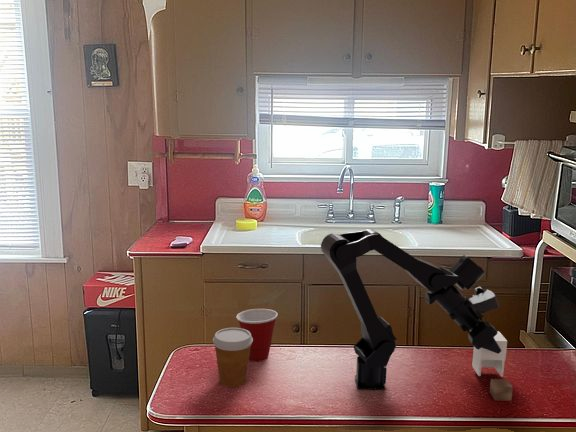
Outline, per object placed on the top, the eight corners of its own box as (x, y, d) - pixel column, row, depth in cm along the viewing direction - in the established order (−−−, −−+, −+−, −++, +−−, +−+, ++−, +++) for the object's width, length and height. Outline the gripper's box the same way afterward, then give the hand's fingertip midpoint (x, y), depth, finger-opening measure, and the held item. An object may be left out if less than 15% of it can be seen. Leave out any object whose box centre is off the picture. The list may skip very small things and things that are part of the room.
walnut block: (494, 400, 143) (496, 386, 143) (489, 392, 147) (491, 379, 146) (511, 401, 143) (512, 387, 143) (505, 393, 147) (507, 379, 146)
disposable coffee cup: (204, 381, 150) (204, 334, 147) (234, 368, 157) (234, 323, 154) (231, 394, 144) (231, 346, 141) (260, 381, 150) (261, 334, 148)
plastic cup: (255, 344, 171) (255, 303, 169) (285, 355, 165) (286, 313, 162) (227, 357, 163) (227, 314, 161) (258, 369, 156) (258, 324, 154)
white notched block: (479, 377, 152) (482, 340, 150) (472, 366, 158) (475, 330, 156) (503, 377, 152) (507, 341, 150) (495, 366, 158) (499, 331, 156)
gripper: (492, 294, 141) (535, 340, 143) (468, 270, 159) (507, 311, 161) (454, 326, 142) (498, 371, 145) (435, 298, 161) (474, 339, 163)
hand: (495, 346), depth 153 cm, fingers open, 6 cm apart
